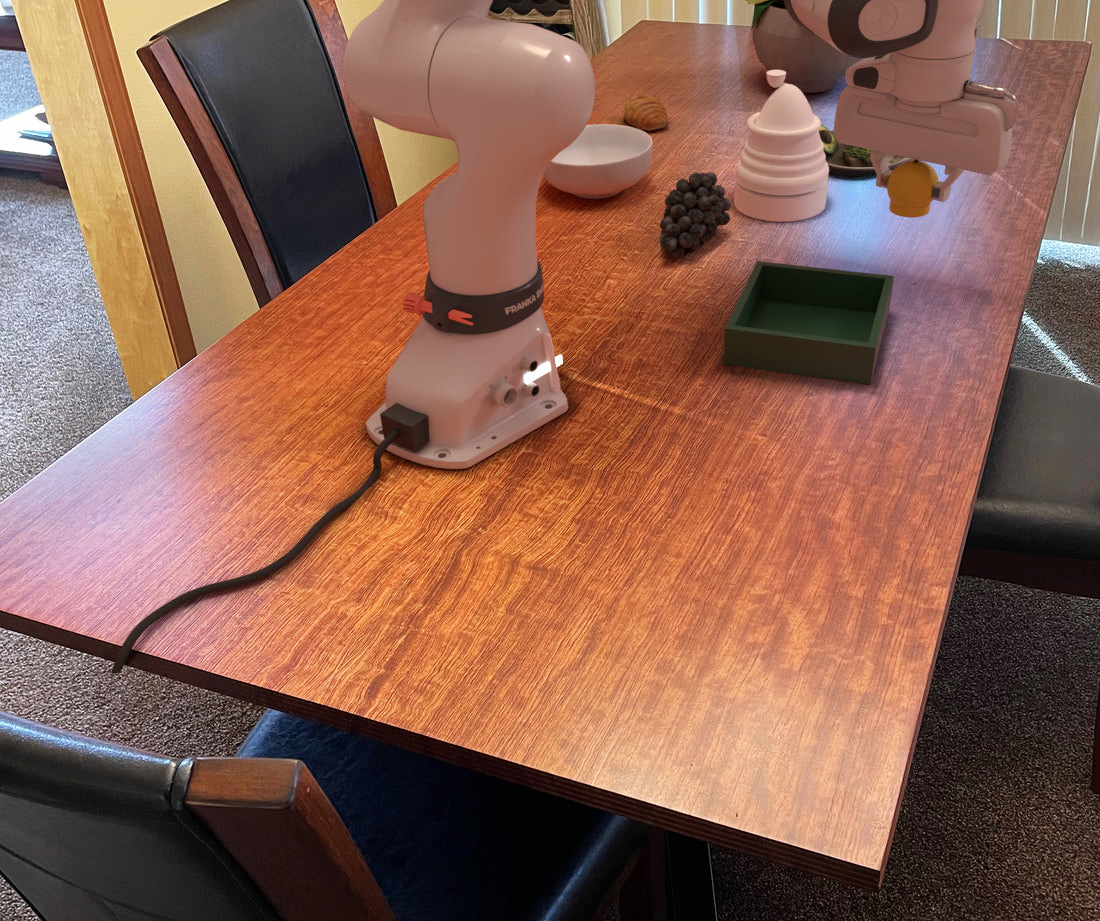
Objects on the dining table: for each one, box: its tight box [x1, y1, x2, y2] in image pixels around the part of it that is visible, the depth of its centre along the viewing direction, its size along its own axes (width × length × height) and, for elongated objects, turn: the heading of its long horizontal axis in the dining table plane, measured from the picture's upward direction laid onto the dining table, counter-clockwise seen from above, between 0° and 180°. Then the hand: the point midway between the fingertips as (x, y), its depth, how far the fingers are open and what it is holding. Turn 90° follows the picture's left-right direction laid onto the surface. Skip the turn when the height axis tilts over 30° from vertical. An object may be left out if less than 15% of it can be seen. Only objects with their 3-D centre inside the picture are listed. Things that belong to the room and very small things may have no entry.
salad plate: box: [818, 124, 914, 179], centre depth 170 cm, size 19×18×5 cm
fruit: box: [659, 172, 732, 259], centre depth 146 cm, size 9×8×15 cm
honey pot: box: [733, 70, 830, 223], centre depth 153 cm, size 13×13×18 cm
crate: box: [722, 260, 895, 386], centre depth 125 cm, size 17×16×5 cm
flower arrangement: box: [745, 0, 864, 94], centre depth 191 cm, size 25×25×24 cm
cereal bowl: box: [543, 123, 654, 200], centre depth 163 cm, size 17×17×7 cm
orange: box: [886, 159, 940, 219], centre depth 130 cm, size 6×6×7 cm
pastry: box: [622, 94, 669, 132], centre depth 186 cm, size 9×7×4 cm
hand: (911, 192), depth 131 cm, fingers closed on orange, 5 cm apart
